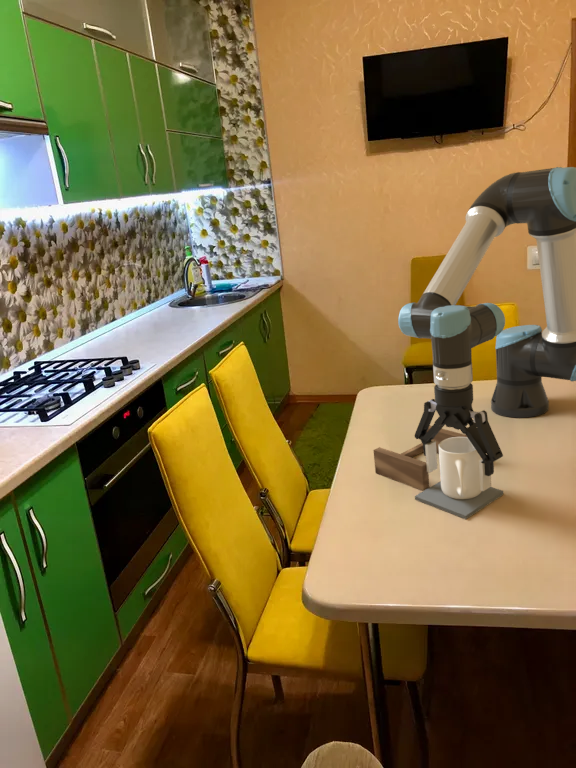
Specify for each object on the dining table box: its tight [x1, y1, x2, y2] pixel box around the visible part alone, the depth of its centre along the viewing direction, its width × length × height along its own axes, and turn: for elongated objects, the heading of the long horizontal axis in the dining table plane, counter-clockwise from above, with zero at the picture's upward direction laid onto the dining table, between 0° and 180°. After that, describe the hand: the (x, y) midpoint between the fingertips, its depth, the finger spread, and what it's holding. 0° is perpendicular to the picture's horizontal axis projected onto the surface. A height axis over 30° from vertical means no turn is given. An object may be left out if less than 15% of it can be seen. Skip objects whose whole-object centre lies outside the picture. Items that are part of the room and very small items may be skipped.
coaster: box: [414, 480, 504, 520], centre depth 131 cm, size 13×13×1 cm
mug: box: [438, 437, 482, 499], centre depth 129 cm, size 9×12×11 cm
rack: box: [373, 424, 467, 492], centre depth 146 cm, size 19×14×6 cm
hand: (457, 479), depth 130 cm, fingers open, 13 cm apart
